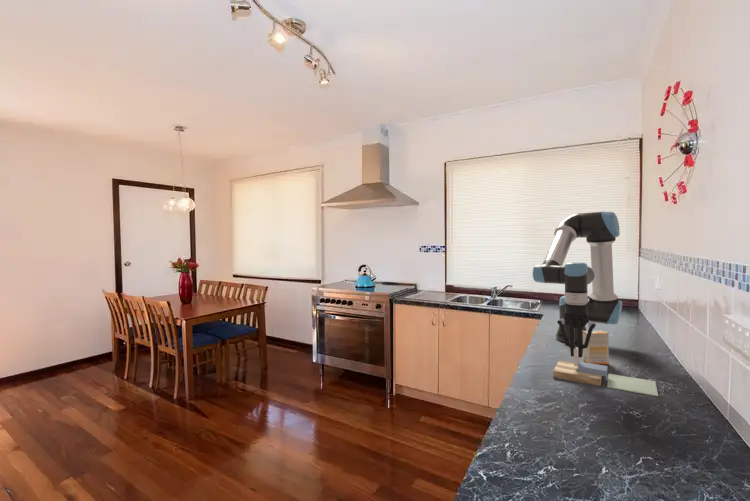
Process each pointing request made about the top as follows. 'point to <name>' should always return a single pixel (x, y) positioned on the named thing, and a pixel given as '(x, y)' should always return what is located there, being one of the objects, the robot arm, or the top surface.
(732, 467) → the top surface
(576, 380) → the board
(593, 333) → the supplement box
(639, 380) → the mat
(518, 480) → the top surface
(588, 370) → the blue rectangular block
